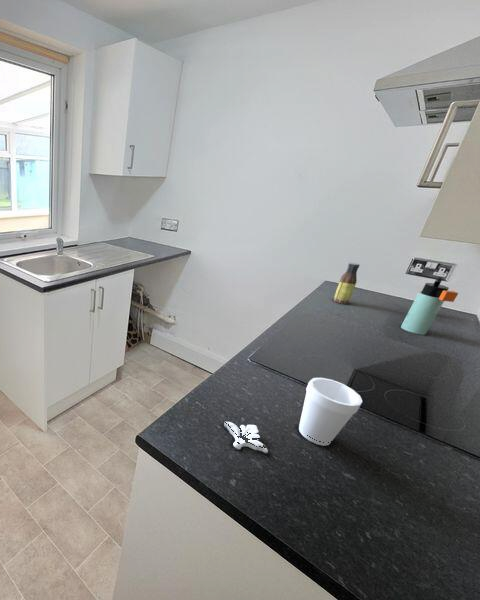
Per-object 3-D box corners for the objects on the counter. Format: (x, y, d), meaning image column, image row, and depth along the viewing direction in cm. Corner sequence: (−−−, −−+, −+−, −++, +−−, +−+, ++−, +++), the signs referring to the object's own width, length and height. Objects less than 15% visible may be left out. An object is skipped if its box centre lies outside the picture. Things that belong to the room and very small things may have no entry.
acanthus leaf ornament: (223, 425, 75) (225, 419, 74) (252, 427, 75) (254, 421, 74) (235, 450, 68) (238, 444, 67) (267, 453, 68) (270, 447, 67)
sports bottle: (431, 336, 126) (462, 282, 117) (409, 333, 127) (438, 279, 118) (416, 327, 133) (444, 275, 124) (396, 324, 134) (422, 273, 125)
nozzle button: (453, 302, 117) (458, 293, 116) (442, 300, 118) (447, 291, 116) (449, 300, 119) (454, 291, 117) (438, 298, 119) (443, 290, 118)
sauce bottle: (351, 304, 154) (367, 266, 146) (340, 304, 153) (356, 265, 145) (339, 299, 160) (354, 262, 152) (328, 299, 159) (343, 262, 151)
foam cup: (287, 434, 73) (306, 390, 68) (294, 414, 80) (312, 372, 75) (337, 458, 68) (361, 412, 63) (340, 434, 74) (363, 391, 69)
